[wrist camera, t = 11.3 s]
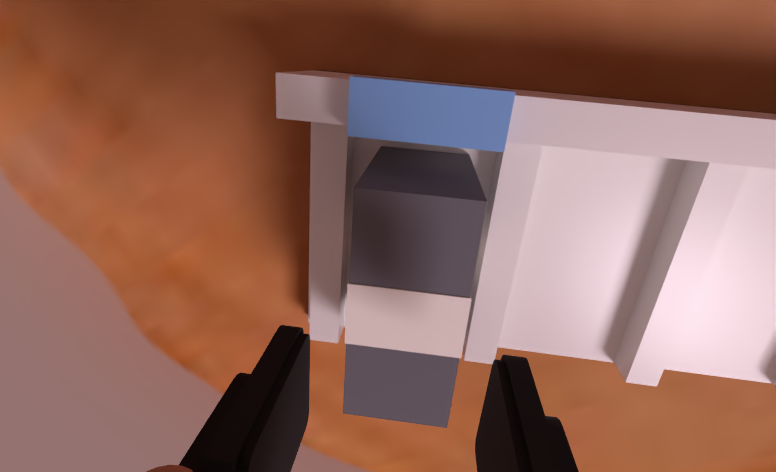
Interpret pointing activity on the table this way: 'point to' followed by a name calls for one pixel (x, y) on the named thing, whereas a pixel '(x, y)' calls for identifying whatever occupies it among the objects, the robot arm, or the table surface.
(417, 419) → the block
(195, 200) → the table surface
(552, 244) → the white ribbed panel
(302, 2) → the table surface
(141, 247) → the table surface
